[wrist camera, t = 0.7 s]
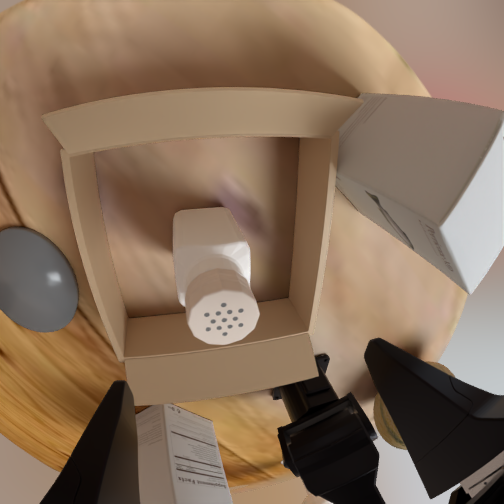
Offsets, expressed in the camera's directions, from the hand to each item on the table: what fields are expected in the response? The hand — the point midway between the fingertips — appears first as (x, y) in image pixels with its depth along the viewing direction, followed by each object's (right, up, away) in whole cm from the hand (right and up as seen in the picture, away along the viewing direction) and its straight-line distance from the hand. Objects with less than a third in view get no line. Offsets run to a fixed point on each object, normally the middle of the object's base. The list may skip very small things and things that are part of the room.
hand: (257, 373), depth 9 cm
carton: (-4, +6, +11) cm, 13 cm away
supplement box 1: (-11, -18, +22) cm, 30 cm away
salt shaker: (-4, +6, +11) cm, 13 cm away
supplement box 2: (+8, +12, +11) cm, 18 cm away
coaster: (-19, +2, +9) cm, 21 cm away
